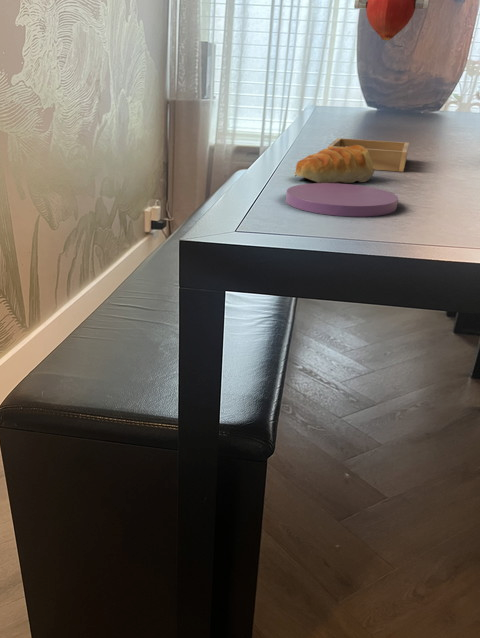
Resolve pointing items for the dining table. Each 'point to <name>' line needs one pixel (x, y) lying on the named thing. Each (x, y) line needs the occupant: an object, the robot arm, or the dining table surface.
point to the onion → (389, 16)
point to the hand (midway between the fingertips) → (390, 8)
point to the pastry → (337, 165)
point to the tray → (380, 152)
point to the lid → (341, 199)
